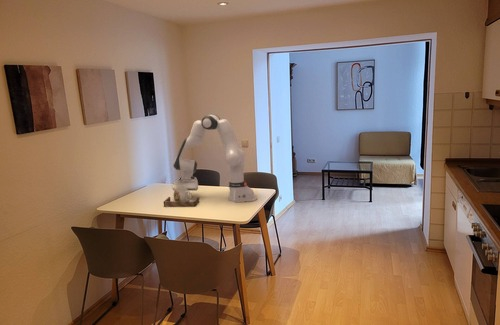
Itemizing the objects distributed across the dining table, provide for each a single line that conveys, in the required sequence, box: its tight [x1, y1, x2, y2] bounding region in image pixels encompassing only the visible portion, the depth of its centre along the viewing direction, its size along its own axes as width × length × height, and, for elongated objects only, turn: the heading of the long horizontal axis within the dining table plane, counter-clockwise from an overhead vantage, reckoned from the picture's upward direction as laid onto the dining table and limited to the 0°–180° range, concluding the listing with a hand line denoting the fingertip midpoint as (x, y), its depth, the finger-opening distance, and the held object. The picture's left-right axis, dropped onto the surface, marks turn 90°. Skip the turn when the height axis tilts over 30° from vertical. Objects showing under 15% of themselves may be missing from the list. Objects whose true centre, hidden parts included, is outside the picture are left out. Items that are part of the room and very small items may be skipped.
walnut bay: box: [163, 196, 200, 208], centre depth 291 cm, size 24×13×4 cm, turn 84°
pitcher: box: [171, 184, 192, 201], centre depth 290 cm, size 11×18×14 cm, turn 60°
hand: (184, 194), depth 297 cm, fingers closed, pressing on pitcher
